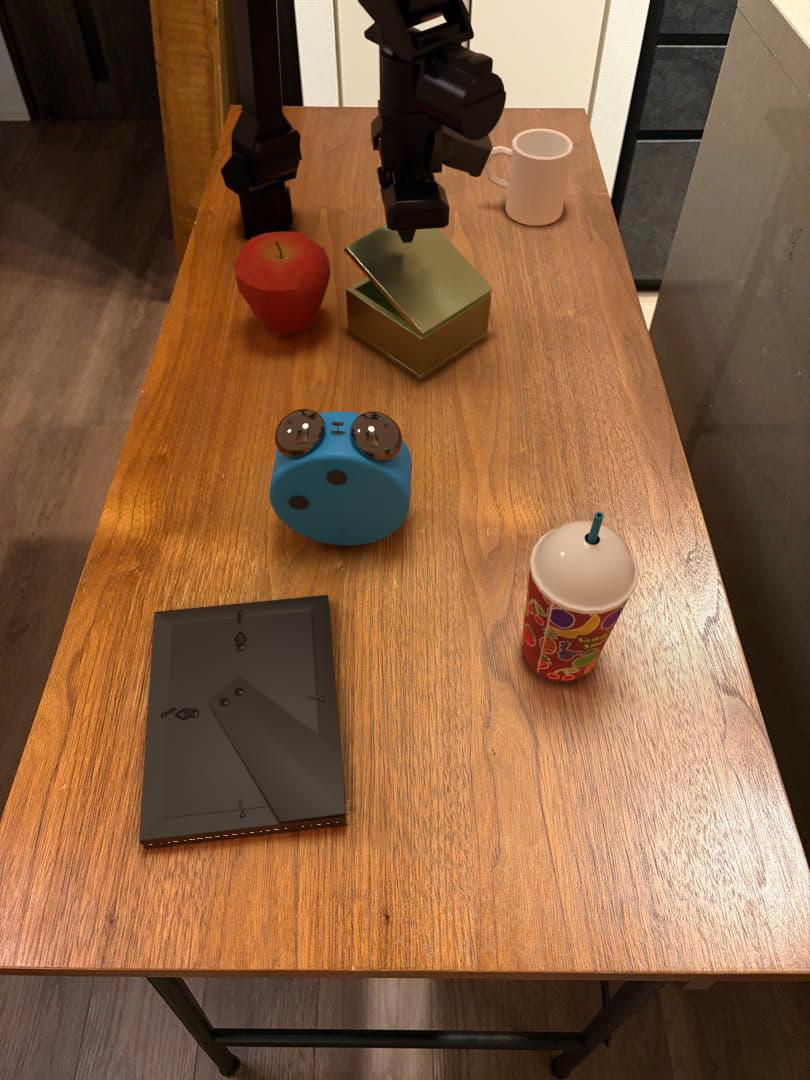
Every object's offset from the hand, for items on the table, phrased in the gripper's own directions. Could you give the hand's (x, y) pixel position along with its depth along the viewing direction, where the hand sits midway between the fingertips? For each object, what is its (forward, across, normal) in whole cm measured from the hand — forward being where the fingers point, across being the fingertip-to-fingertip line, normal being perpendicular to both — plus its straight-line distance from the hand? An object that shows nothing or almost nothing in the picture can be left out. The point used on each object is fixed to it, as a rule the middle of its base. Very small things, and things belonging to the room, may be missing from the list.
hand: (407, 241), depth 95 cm
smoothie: (+12, -48, -8) cm, 50 cm away
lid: (+3, -2, -1) cm, 4 cm away
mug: (+12, +24, -19) cm, 33 cm away
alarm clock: (+12, -31, +10) cm, 34 cm away
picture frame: (+12, -51, +20) cm, 56 cm away
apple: (+12, +2, +14) cm, 19 cm away
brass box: (+12, -2, -1) cm, 12 cm away
